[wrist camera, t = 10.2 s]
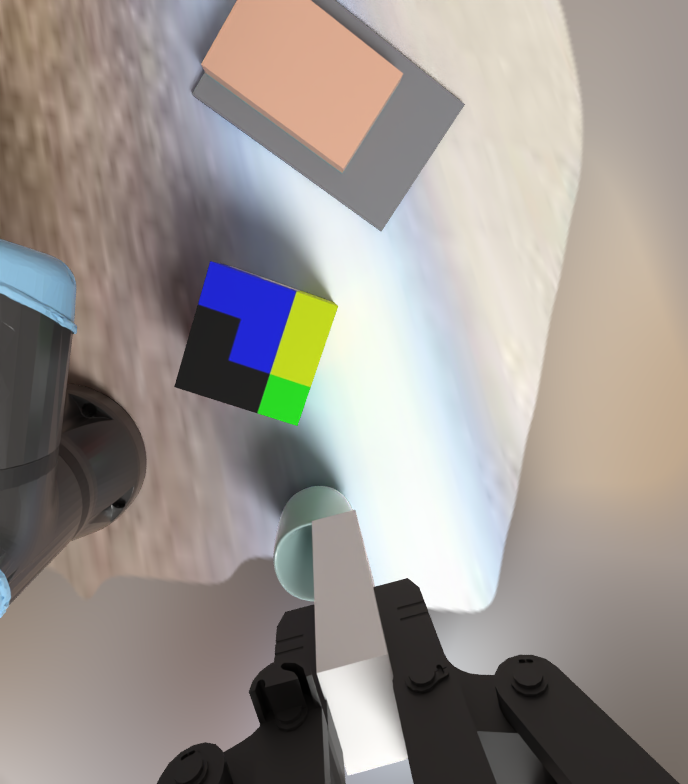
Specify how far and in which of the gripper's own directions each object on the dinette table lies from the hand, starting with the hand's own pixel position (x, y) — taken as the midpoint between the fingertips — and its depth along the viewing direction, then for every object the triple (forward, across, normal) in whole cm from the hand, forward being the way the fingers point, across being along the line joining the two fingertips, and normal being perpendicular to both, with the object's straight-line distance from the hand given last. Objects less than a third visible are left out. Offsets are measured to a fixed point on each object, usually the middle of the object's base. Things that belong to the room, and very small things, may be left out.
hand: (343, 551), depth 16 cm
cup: (+33, -4, -14) cm, 36 cm away
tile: (+31, +10, +20) cm, 39 cm away
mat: (+33, +7, +24) cm, 41 cm away
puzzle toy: (+33, -4, +5) cm, 34 cm away
